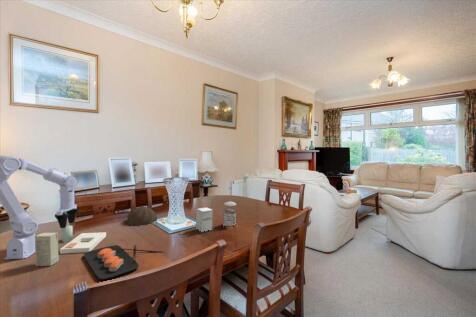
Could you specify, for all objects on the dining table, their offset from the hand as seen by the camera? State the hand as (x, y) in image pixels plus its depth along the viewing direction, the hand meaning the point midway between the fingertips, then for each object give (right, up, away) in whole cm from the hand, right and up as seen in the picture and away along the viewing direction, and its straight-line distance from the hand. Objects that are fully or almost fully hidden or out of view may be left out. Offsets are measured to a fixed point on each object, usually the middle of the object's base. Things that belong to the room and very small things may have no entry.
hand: (67, 225), depth 116 cm
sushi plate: (+39, -10, -16) cm, 44 cm away
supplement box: (+67, -9, +21) cm, 71 cm away
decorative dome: (+24, -8, +34) cm, 43 cm away
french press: (+81, -9, +31) cm, 88 cm away
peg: (0, -8, 0) cm, 8 cm away
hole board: (+12, -8, -4) cm, 15 cm away
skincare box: (+9, -9, -23) cm, 27 cm away
